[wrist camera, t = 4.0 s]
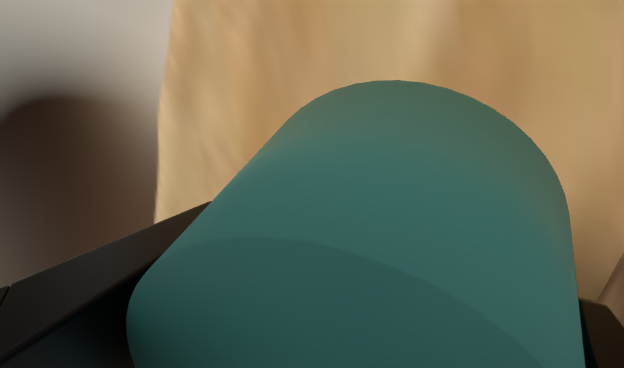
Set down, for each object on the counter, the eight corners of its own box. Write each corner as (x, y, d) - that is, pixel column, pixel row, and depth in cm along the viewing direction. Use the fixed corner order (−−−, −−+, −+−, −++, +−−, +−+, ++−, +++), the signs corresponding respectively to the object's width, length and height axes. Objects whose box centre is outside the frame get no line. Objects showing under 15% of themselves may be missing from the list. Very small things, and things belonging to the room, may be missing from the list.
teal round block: (516, 369, 10) (509, 612, 7) (263, 290, 11) (158, 458, 8) (627, 117, 7) (716, 351, 3) (256, 55, 8) (82, 178, 5)
